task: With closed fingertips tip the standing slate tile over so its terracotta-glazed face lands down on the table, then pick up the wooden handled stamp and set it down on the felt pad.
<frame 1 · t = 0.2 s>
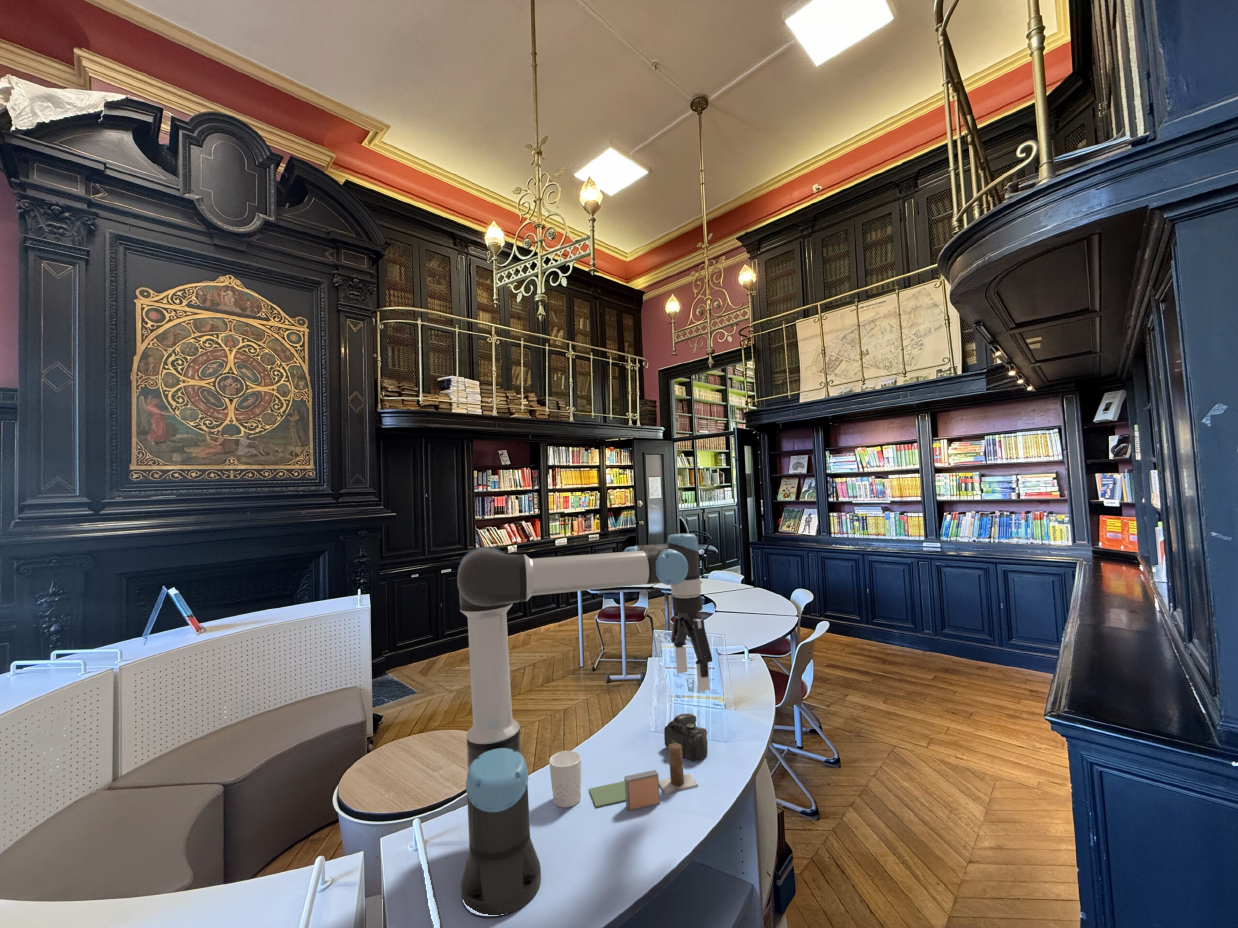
hand: (692, 680, 127), 27 cm above the table, fingers open, 13 cm apart
camera: (686, 751, 147), on the table
wooden handled stamp: (677, 784, 130), on the table
pad: (611, 794, 128), on the table
white cup: (567, 800, 127), on the table
tile: (643, 804, 123), on the table
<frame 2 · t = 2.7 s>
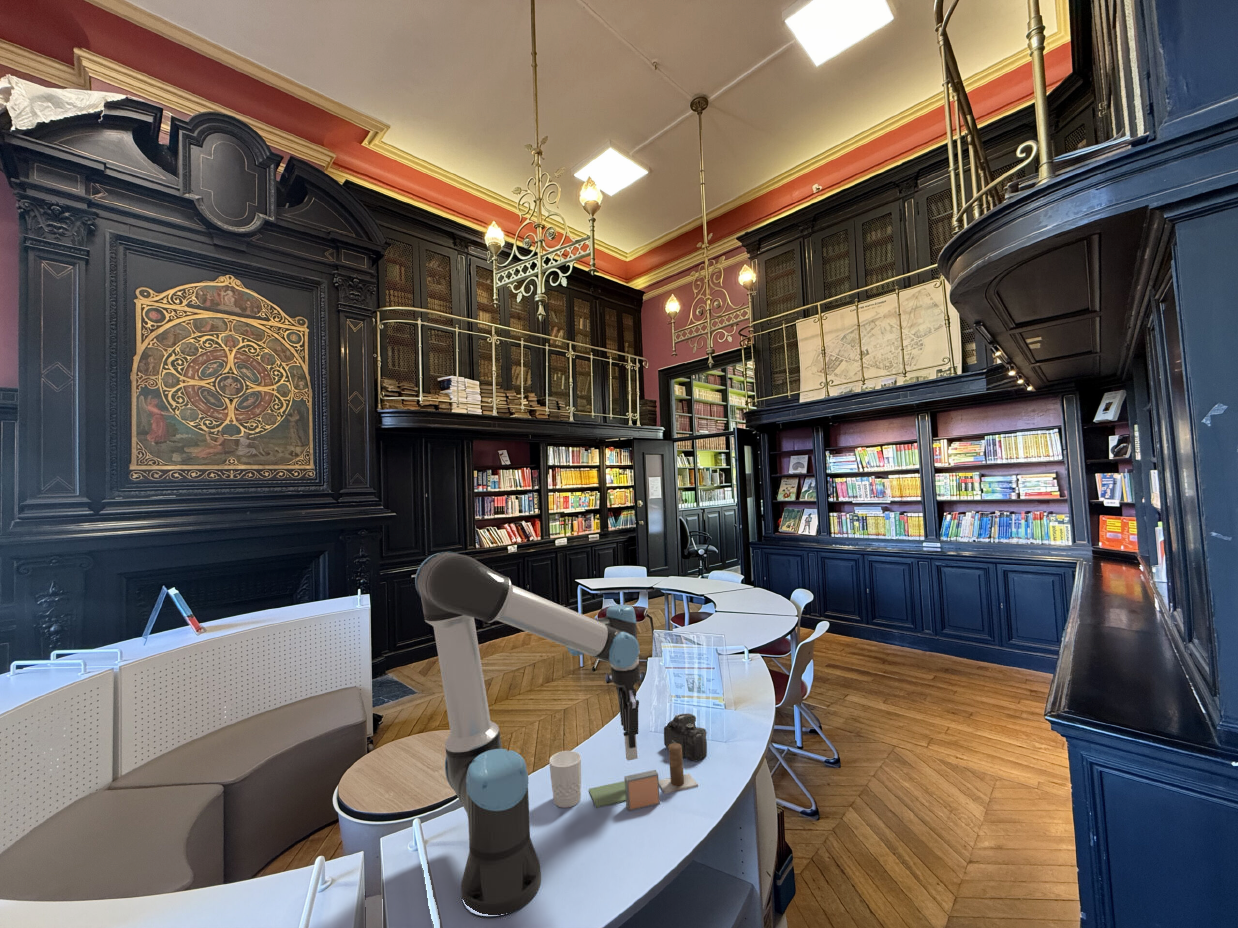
hand: (631, 758, 132), 7 cm above the table, fingers closed
nothing on the table moved.
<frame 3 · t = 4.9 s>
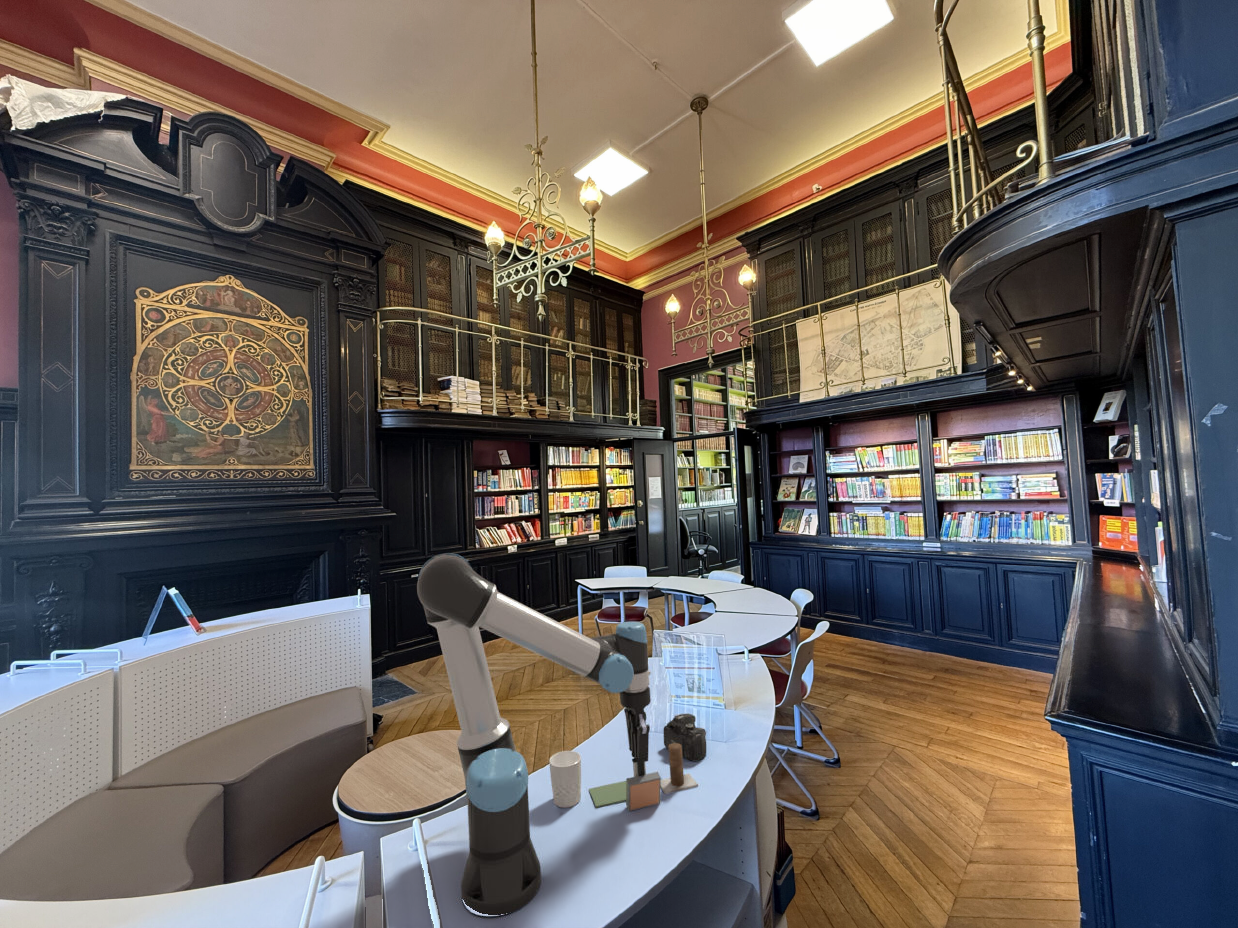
hand: (640, 786, 124), 4 cm above the table, fingers closed
tile: (643, 804, 123), on the table, tilted 13°, touching gripper
everything else where it was.
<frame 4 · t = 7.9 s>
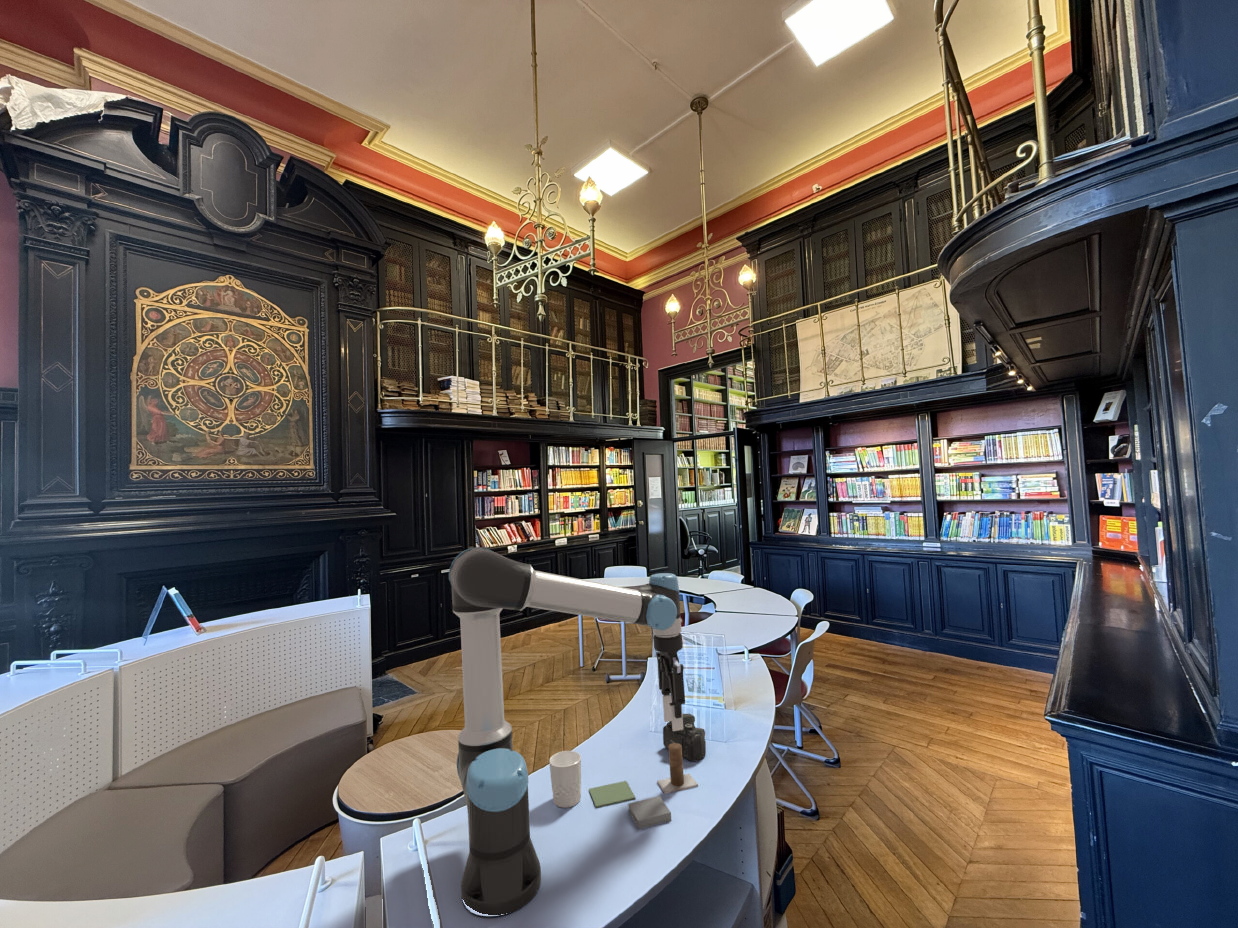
hand: (673, 724, 131), 15 cm above the table, fingers open, 5 cm apart
tile: (644, 803, 122), point 1 cm above the table, tilted 90°
everything else where it was.
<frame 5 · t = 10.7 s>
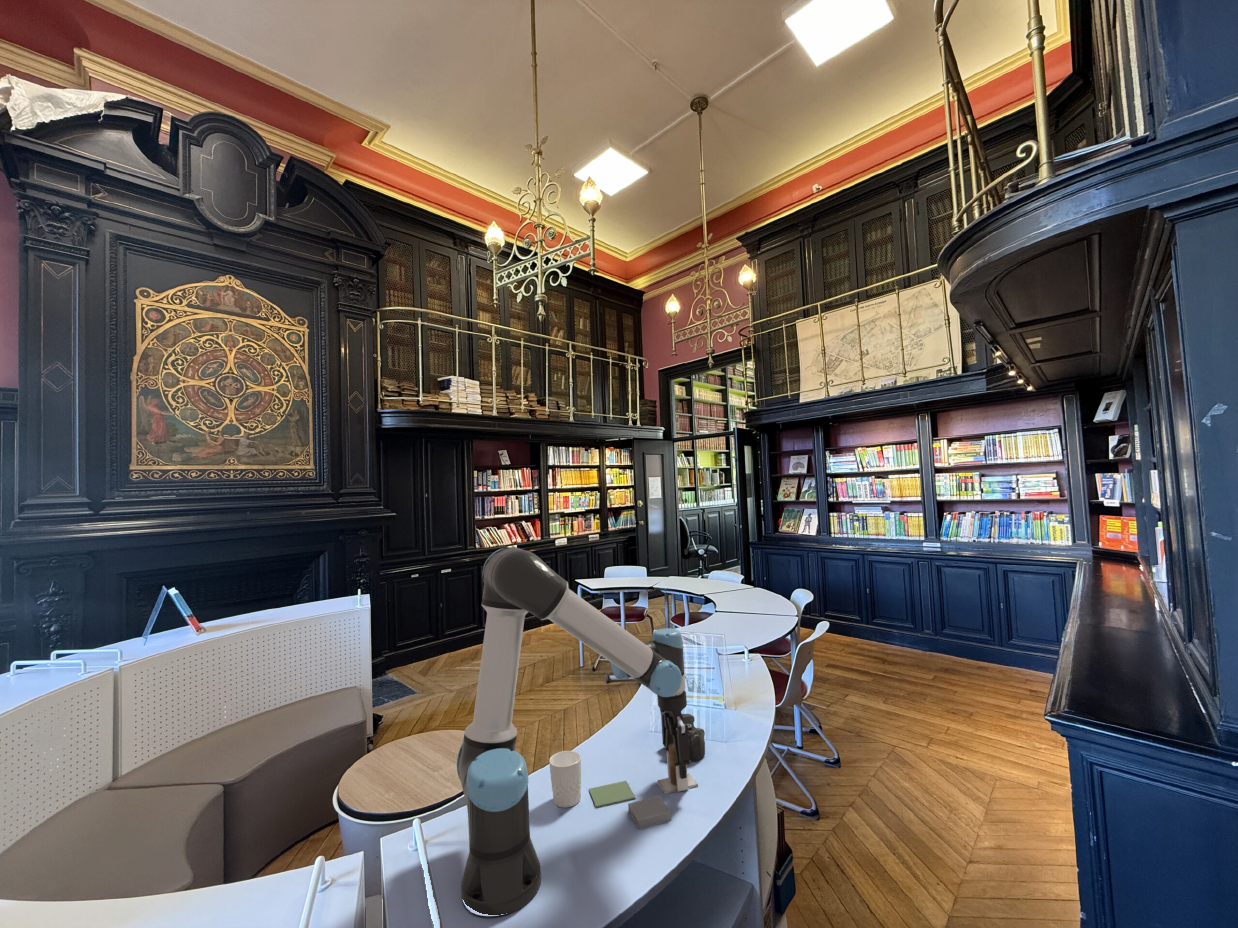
hand: (678, 782, 130), 0 cm above the table, fingers closed on wooden handled stamp, 5 cm apart
wooden handled stamp: (677, 784, 130), on the table, touching gripper
everything else where it was.
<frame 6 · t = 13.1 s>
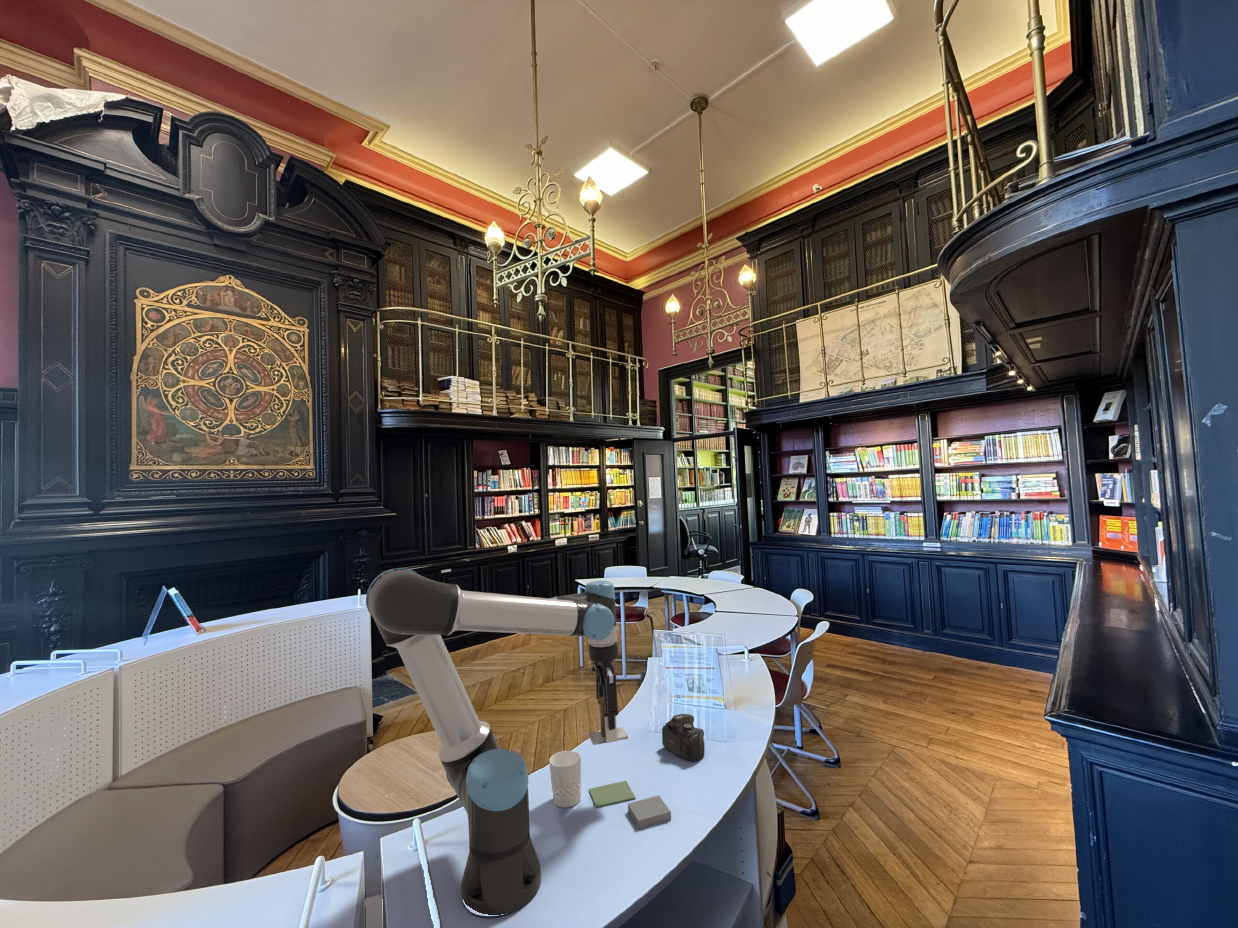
hand: (608, 735, 129), 14 cm above the table, fingers closed on wooden handled stamp, 5 cm apart
wooden handled stamp: (608, 736, 129), point 14 cm above the table, touching gripper
everything else where it was.
when the fingers open (2 cm above the table, at t = 15.6 s): wooden handled stamp stays where it is, resting on pad.
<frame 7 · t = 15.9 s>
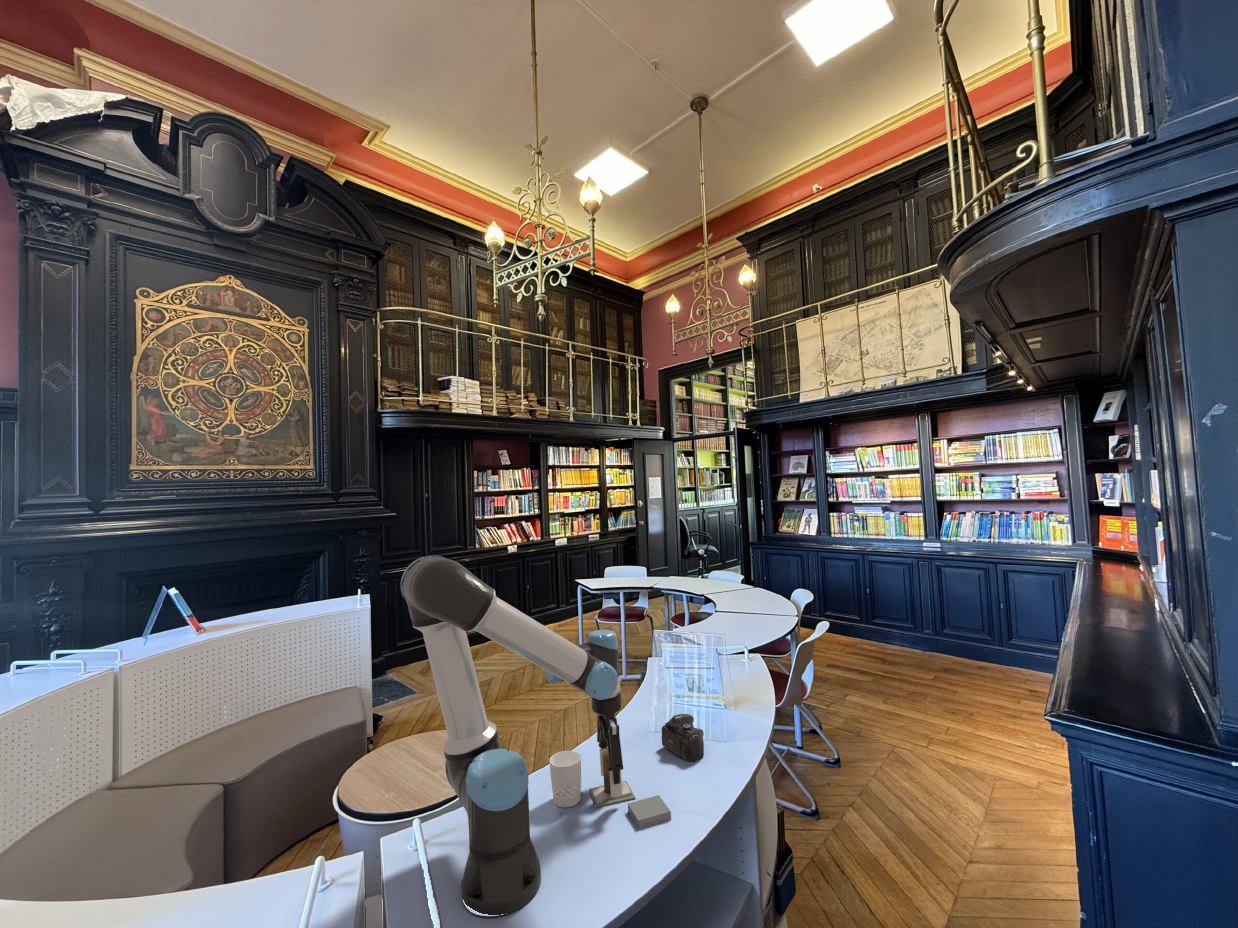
hand: (611, 784, 128), 2 cm above the table, fingers open, 9 cm apart
wooden handled stamp: (611, 792, 128), resting on pad
everything else where it was.
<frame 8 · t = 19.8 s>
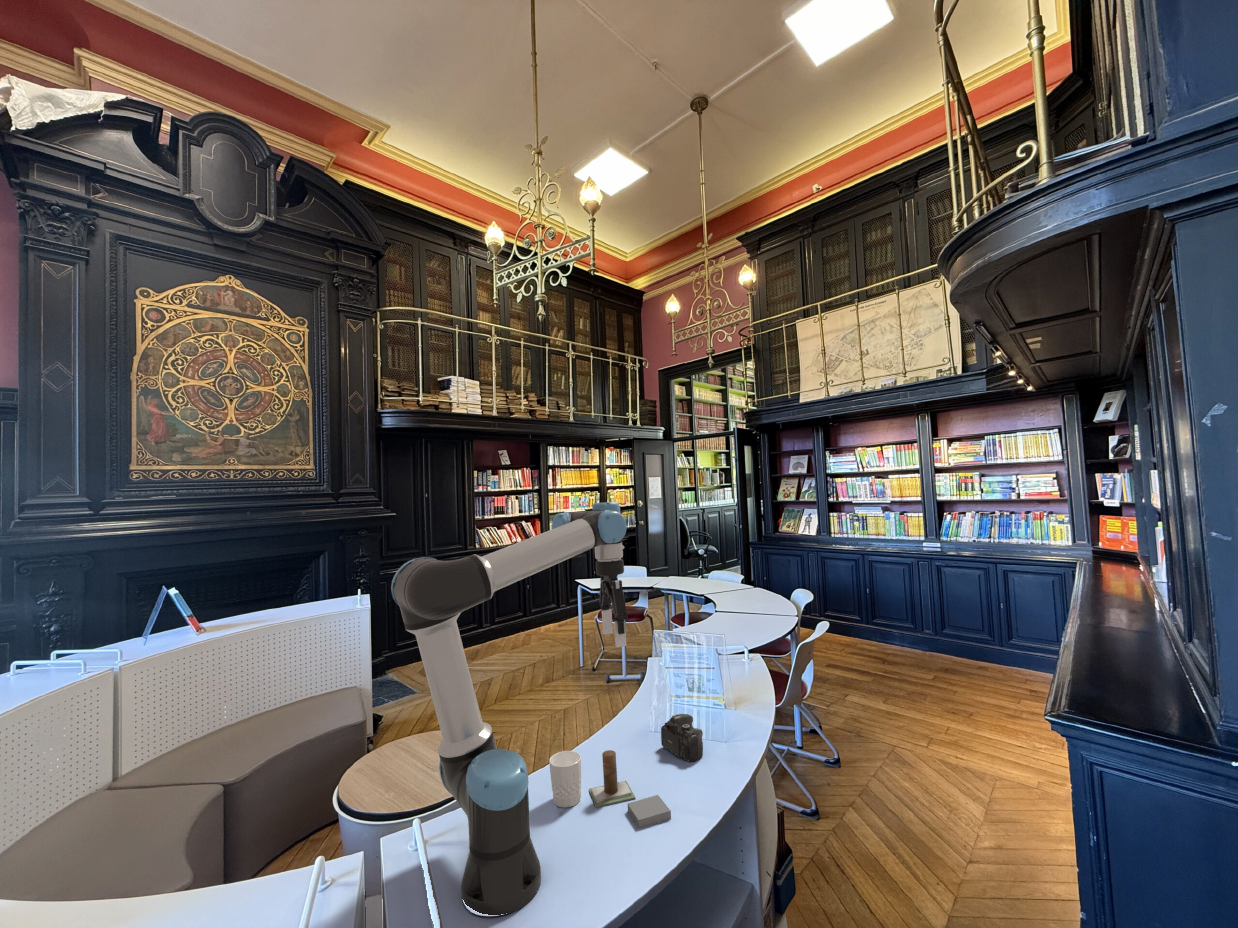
hand: (614, 639, 135), 37 cm above the table, fingers open, 13 cm apart
at the end: tile tilted 90°; wooden handled stamp inside the target area on the pad (0.1 cm from its centre), point 0.4 cm above the pad's base; the gripper is holding nothing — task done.
